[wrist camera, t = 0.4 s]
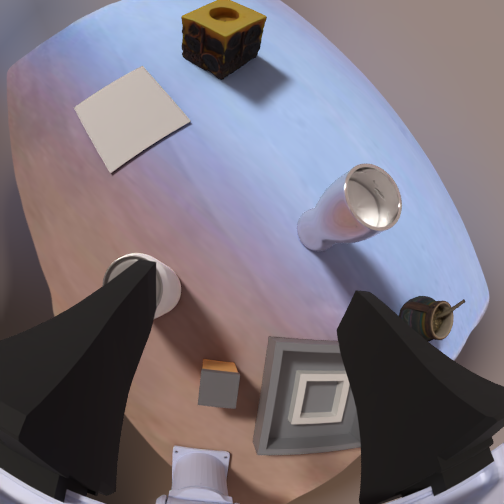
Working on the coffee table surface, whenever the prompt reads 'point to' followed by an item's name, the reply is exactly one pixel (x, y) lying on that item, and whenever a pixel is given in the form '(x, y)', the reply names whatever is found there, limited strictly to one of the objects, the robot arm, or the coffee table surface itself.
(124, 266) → the can
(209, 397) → the plug
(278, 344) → the box
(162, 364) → the coffee table surface
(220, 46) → the candle
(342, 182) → the beer glass
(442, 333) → the mate gourd
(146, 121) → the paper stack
